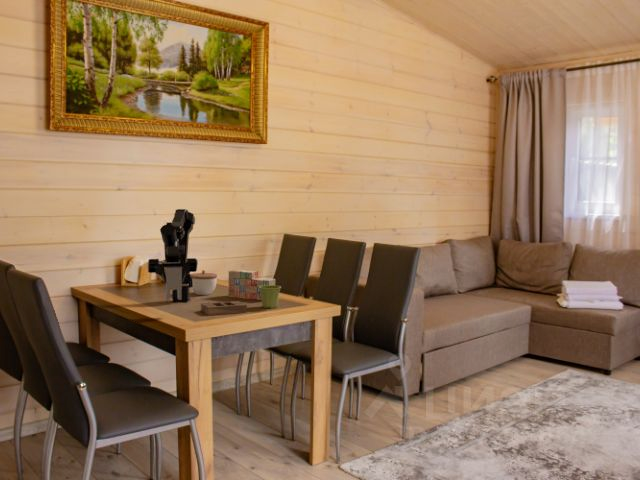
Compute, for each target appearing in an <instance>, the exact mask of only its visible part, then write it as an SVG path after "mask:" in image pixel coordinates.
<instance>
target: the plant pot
mask: <svg viewBox="0 0 640 480" xmlns="http://www.w3.org/2000/svg"><path fill="white" fill-rule="evenodd" d="M259 288H260V291H261V298H262V300H261V304H262V307H263V308H266V309H268V308H270V309H273V308H274V309H275V308H277V307H278V302H279V295H280V292H281V289H282V286H281V285H276V284H275V285H264V286H259Z"/></svg>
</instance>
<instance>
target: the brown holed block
mask: <svg viewBox="0 0 640 480" xmlns="http://www.w3.org/2000/svg"><path fill="white" fill-rule="evenodd" d="M200 311H201V312H203V313H204V314H206V315H208V316H215V315H228V314H242V313H248V304H246V303H243V302H242V301H239V300H234V301H217V302H215V301H214V302H202V303H200Z"/></svg>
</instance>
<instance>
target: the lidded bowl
mask: <svg viewBox="0 0 640 480" xmlns="http://www.w3.org/2000/svg"><path fill="white" fill-rule="evenodd" d="M205 271H206V270H204V269H203V270H201V272H192V273H190V274H191V277H192V281H193V287H190V288H191V290H192V291H193V292H194V293H195V295H198V296H208V295H212V293H213V292H214V291H215V289H216V287H217V280H218V278H217V277H218V275H217V273H213V272H205Z"/></svg>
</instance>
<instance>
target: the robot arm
mask: <svg viewBox="0 0 640 480" xmlns="http://www.w3.org/2000/svg"><path fill="white" fill-rule="evenodd" d="M195 222H196V218H195V215H194V213H193V212H190V211H189V210H188V209H183V208H178V209H175V212H174V216H173V218H172V221H171V222H166V224H164V225H162V226H161V227H160V229H159V231H160V235H161V238H162V243H163V245H164V246H163V249H164V261H163V260H159V258H149V259H148V261H147V264H148V265H147V272H148V273H150V274H153V273H154V274H156V275H158V276H159V277H160V278H161V279H162V281H163V282H164V284H165V285H166V269H165V268H166V266H181V267H182V300H178V290H171V291H172V295H171V296H172V298H171V299H172V302H175V303H177V302H178V303H187V302H190V301H191V298H190V288H191V287H193V281H192V277H191V274H192V273H197V270H198V259H197V258H194V257H192V258H190V257H189V258H188V253H189V251H188V250H189V240H190V238H189V237H190V234H191V233H192V231H193V229H194V225H195Z"/></svg>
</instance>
